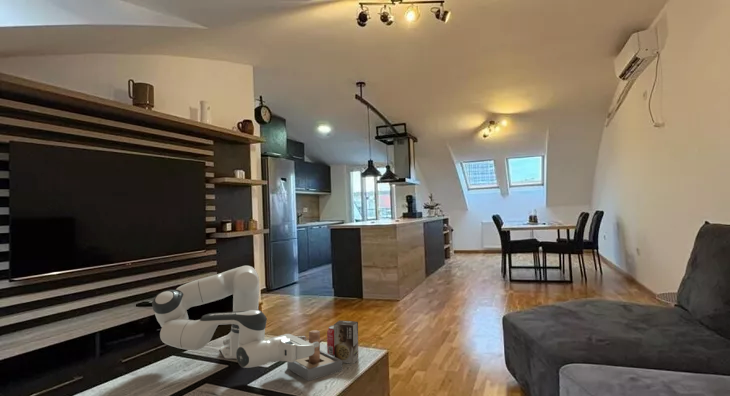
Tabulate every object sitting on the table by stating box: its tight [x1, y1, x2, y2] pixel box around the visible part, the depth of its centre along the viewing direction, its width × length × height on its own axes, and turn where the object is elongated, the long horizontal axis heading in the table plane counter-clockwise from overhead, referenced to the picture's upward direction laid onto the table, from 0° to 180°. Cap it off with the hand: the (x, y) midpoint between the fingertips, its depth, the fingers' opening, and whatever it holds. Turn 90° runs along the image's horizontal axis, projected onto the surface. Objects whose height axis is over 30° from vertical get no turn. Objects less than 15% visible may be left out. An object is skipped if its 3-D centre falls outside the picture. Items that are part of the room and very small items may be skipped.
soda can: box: [326, 324, 334, 356], centre depth 183 cm, size 7×7×12 cm
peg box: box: [286, 349, 343, 382], centre depth 164 cm, size 16×16×4 cm
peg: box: [308, 329, 321, 364], centre depth 165 cm, size 4×4×14 cm
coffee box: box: [333, 320, 359, 365], centre depth 175 cm, size 9×6×16 cm
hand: (311, 340), depth 164 cm, fingers open, 8 cm apart
